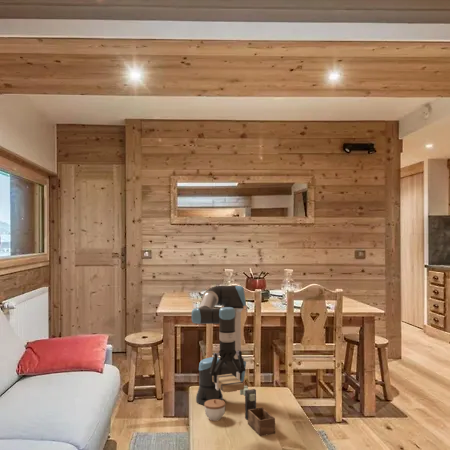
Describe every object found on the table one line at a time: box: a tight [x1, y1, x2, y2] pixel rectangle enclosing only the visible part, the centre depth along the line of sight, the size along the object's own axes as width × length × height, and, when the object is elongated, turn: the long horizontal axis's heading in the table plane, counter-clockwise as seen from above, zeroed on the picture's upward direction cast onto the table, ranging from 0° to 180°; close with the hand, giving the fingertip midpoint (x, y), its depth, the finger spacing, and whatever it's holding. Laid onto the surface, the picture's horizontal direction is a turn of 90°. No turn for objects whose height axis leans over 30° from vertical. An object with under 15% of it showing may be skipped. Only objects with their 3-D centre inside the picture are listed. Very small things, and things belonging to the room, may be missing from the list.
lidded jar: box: [203, 399, 226, 422], centre depth 224 cm, size 11×11×9 cm
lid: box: [212, 374, 245, 393], centre depth 207 cm, size 16×10×4 cm, turn 20°
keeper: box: [244, 388, 257, 421], centre depth 223 cm, size 2×5×14 cm, turn 110°
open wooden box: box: [247, 407, 276, 437], centre depth 211 cm, size 14×8×7 cm, turn 20°
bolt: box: [239, 385, 255, 401], centre depth 227 cm, size 12×4×4 cm, turn 20°
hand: (227, 387), depth 207 cm, fingers closed on lid, 10 cm apart
